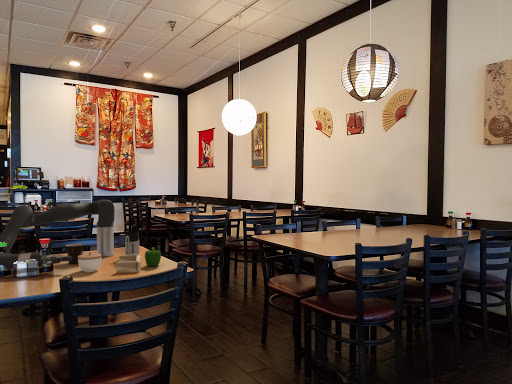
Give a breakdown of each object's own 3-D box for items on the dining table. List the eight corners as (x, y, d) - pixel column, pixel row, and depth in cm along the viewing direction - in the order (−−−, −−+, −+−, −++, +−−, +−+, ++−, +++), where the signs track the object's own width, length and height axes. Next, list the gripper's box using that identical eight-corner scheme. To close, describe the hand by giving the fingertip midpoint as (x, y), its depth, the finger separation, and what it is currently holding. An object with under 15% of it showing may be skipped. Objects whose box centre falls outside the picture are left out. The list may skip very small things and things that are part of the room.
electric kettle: (142, 256, 223) (142, 231, 223) (133, 261, 209) (133, 234, 208) (127, 256, 223) (127, 231, 223) (118, 261, 209) (117, 234, 209)
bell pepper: (147, 264, 202) (146, 245, 202) (162, 264, 202) (162, 245, 202) (142, 267, 194) (142, 248, 194) (158, 267, 194) (158, 248, 194)
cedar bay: (119, 264, 201) (119, 255, 201) (141, 263, 204) (141, 254, 204) (116, 273, 182) (116, 262, 182) (140, 271, 185) (140, 261, 185)
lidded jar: (78, 269, 190) (78, 251, 190) (101, 267, 194) (101, 249, 194) (77, 274, 180) (77, 254, 180) (101, 272, 184) (101, 253, 184)
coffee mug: (73, 261, 210) (73, 243, 210) (87, 261, 208) (87, 243, 208) (58, 265, 198) (58, 246, 198) (73, 266, 197) (72, 247, 196)
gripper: (35, 265, 186) (73, 263, 191) (27, 271, 173) (68, 269, 178) (35, 250, 186) (73, 248, 191) (26, 255, 173) (68, 253, 178)
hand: (71, 258), depth 184 cm, fingers closed
